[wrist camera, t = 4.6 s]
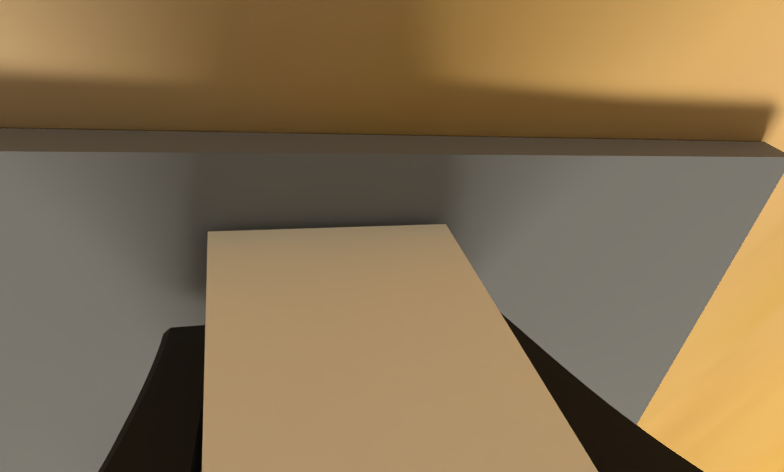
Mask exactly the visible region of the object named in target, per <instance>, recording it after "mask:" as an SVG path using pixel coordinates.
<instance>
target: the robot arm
mask: <svg viewBox="0 0 784 472" xmlns="http://www.w3.org/2000/svg"><path fill="white" fill-rule="evenodd" d="M500 313H501V312H500ZM501 314H502V313H501ZM502 316H503V318H504V319H505V321H506V323H507V324H508V326H509V327H510V329H511V331H512V332H513V334H514V336H515V337H516V339H517V340H518V342H519V344H520V345H521V347H522V349H523V350H524V352H525V353H526V355H527V357H528V358H529V360H530V362H531V363H532V365H533V366H534V368H535V370H536V371H537V373H538V375H539V376H540V378H541V379H542V381H543V383H544V384H545V386H546V388H547V389H548V391H549V392H550V394H551V396H552V397H553V399H554V401H555V402H556V404H557V405H558V407H559V409H560V410H561V412H562V414H563V415H564V417H565V418H566V420H567V422H568V423H569V425H570V427H571V428H572V430H573V431H574V433H575V435H576V436H577V438H578V440H579V441H580V443H581V444H582V446H583V448H584V449H585V451H586V453H587V454H588V456H589V457H590V459H591V461H592V462H593V464H594V466H595V467H596V469H597V470H598V472H703V471H702V470H700V469H699V468H697V467H696V466H694V465H693V464H691V463H690V462H688V461H687V460H685V459H684V458H682V457H681V456H679V455H678V454H676V453H675V452H673V451H672V450H670V449H669V448H667V447H666V446H665V445H663V444H662V443H660V442H659V441H658V440H656V439H655V438H653V437H652V436H651V435H649V434H648V433H646V432H645V431H644V430H642V429H641V428H640V427H638V426H637V425H636V424H635V423H633V422H632V421H631V420H629V419H628V418H627V417H625V416H624V415H623V414H621V413H620V412H619V411H617V410H616V409H615V408H613V407H612V406H611V405H610V404H608V403H607V402H606V401H605V400H603V399H602V398H601V397H600V396H598V395H597V394H596V393H595V392H593V391H592V390H591V389H590V388H588V387H587V386H586V385H585V384H583V383H582V382H581V381H580V380H579V379H577V378H576V377H575V376H574V375H573V374H571V373H570V372H569V371H568V370H567V369H565V368H564V367H563V366H562V365H561V364H560V363H558V362H557V361H556V360H555V359H554V358H553V357H551V356H550V355H549V354H548V353H547V352H546V351H544V350H543V349H542V348H541V347H540V346H539V345H538V344H536V343H535V342H534V341H533V340H532V339H531V338H529V337H528V336H527V335H526V334H525V333H524V332H523V331H521V330H520V329H519V328H518V327H517V326H516V325H515V324H513V323H512V322H511V321H510V320H509V319H508V318H506V317H505V316H504V315H503V314H502ZM204 360H205V325H198V326H184V327H171V328H169V329H168V330H167V331H166V332H165V333H164V334H163V336H162V340H161V343H160V346H159V349H158V351H157V354H156V357H155V359H154V362H153V364H152V367H151V369H150V371H149V374H148V376H147V378H146V380H145V383H144V385H143V387H142V389H141V391H140V393H139V395H138V398H137V400H136V402H135V404H134V406H133V408H132V410H131V412H130V414H129V415H128V417H127V419H126V421H125V423H124V425H123V427H122V429H121V431H120V433H119V435H118V437H117V439H116V440H115V442H114V444H113V446H112V448H111V450H110V452H109V454H108V455H107V457H106V459H105V461H104V462H103V464H102V466H101V467H100V469H99V471H98V472H202V440H203V400H204Z"/></svg>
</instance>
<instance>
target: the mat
mask: <svg viewBox="0 0 784 472" xmlns="http://www.w3.org/2000/svg"><path fill="white" fill-rule="evenodd" d="M783 173H784V152H782V151H780V150H778V149H776V148H775V147H773V146H771V145H769V144H767V143H765V142H753V141H697V140H640V139H584V138H529V137H472V136H416V135H361V134H304V133H248V132H193V131H136V130H80V129H24V128H0V472H98V471H99V469H100V467H101V466H102V464H103V462H104V461H105V459H106V457H107V455H108V454H109V452H110V450H111V448H112V446H113V444H114V442H115V440H116V439H117V437H118V435H119V433H120V431H121V429H122V427H123V425H124V423H125V421H126V419H127V417H128V415H129V414H130V412H131V410H132V408H133V406H134V404H135V402H136V400H137V398H138V395H139V393H140V391H141V389H142V387H143V385H144V383H145V380H146V378H147V376H148V374H149V371H150V369H151V367H152V364H153V362H154V359H155V357H156V354H157V351H158V349H159V346H160V343H161V340H162V336H163V334H164V333H165V332H166V331H167V330H168V329H169V328H171V327H184V326H198V325H205V320H206V279H207V239H208V231H240V230H272V229H303V228H335V227H367V226H399V225H430V224H446V225H447V227H448V228H449V230H450V232H451V233H452V235H453V236H454V238H455V240H456V241H457V243H458V245H459V246H460V248H461V249H462V251H463V253H464V254H465V256H466V258H467V259H468V261H469V262H470V264H471V266H472V267H473V269H474V271H475V272H476V274H477V275H478V277H479V279H480V280H481V282H482V284H483V285H484V287H485V288H486V290H487V292H488V293H489V295H490V297H491V298H492V300H493V301H494V303H495V305H496V306H497V308H498V310H499V311H500V312H501V313H502V314H503V315H504V316H505V317H506V318H508V319H509V320H510V321H511V322H512V323H513V324H515V325H516V326H517V327H518V328H519V329H520V330H521V331H523V332H524V333H525V334H526V335H527V336H528V337H529V338H531V339H532V340H533V341H534V342H535V343H536V344H538V345H539V346H540V347H541V348H542V349H543V350H544V351H546V352H547V353H548V354H549V355H550V356H551V357H553V358H554V359H555V360H556V361H557V362H558V363H560V364H561V365H562V366H563V367H564V368H565V369H567V370H568V371H569V372H570V373H571V374H573V375H574V376H575V377H576V378H577V379H579V380H580V381H581V382H582V383H583V384H585V385H586V386H587V387H588V388H590V389H591V390H592V391H593V392H595V393H596V394H597V395H598V396H600V397H601V398H602V399H603V400H605V401H606V402H607V403H608V404H610V405H611V406H612V407H613V408H615V409H616V410H617V411H619V412H620V413H621V414H623V415H624V416H625V417H627V418H628V419H629V420H631V421H632V422H633V423H635V424H636V425H637V423H638V421H639V419H640V418H641V416H642V414H643V413H644V411H645V409H646V407H647V406H648V404H649V402H650V401H651V399H652V397H653V395H654V394H655V392H656V390H657V389H658V387H659V385H660V384H661V382H662V380H663V378H664V377H665V375H666V373H667V372H668V370H669V368H670V366H671V365H672V363H673V361H674V360H675V358H676V356H677V354H678V353H679V351H680V349H681V348H682V346H683V344H684V343H685V341H686V339H687V337H688V336H689V334H690V332H691V331H692V329H693V327H694V325H695V324H696V322H697V320H698V319H699V317H700V315H701V313H702V312H703V310H704V308H705V307H706V305H707V303H708V301H709V300H710V298H711V296H712V295H713V293H714V291H715V290H716V288H717V286H718V284H719V283H720V281H721V279H722V278H723V276H724V274H725V272H726V271H727V269H728V267H729V266H730V264H731V262H732V260H733V259H734V257H735V255H736V254H737V252H738V250H739V249H740V247H741V245H742V243H743V242H744V240H745V238H746V237H747V235H748V233H749V231H750V230H751V228H752V226H753V225H754V223H755V221H756V219H757V218H758V216H759V214H760V213H761V211H762V209H763V208H764V206H765V204H766V202H767V201H768V199H769V197H770V196H771V194H772V192H773V190H774V189H775V187H776V185H777V184H778V182H779V180H780V178H781V177H782V175H783Z"/></svg>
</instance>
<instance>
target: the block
mask: <svg viewBox="0 0 784 472" xmlns="http://www.w3.org/2000/svg"><path fill="white" fill-rule="evenodd" d="M202 472H598V470H597V469H596V467H595V466H594V464H593V462H592V461H591V459H590V457H589V456H588V454H587V453H586V451H585V449H584V448H583V446H582V444H581V443H580V441H579V440H578V438H577V436H576V435H575V433H574V431H573V430H572V428H571V427H570V425H569V423H568V422H567V420H566V418H565V417H564V415H563V414H562V412H561V410H560V409H559V407H558V405H557V404H556V402H555V401H554V399H553V397H552V396H551V394H550V392H549V391H548V389H547V388H546V386H545V384H544V383H543V381H542V379H541V378H540V376H539V375H538V373H537V371H536V370H535V368H534V366H533V365H532V363H531V362H530V360H529V358H528V357H527V355H526V353H525V352H524V350H523V349H522V347H521V345H520V344H519V342H518V340H517V339H516V337H515V336H514V334H513V332H512V331H511V329H510V327H509V326H508V324H507V323H506V321H505V319H504V318H503V316H502V314H501V313H500V311H499V310H498V308H497V306H496V305H495V303H494V301H493V300H492V298H491V297H490V295H489V293H488V292H487V290H486V288H485V287H484V285H483V284H482V282H481V280H480V279H479V277H478V275H477V274H476V272H475V271H474V269H473V267H472V266H471V264H470V262H469V261H468V259H467V258H466V256H465V254H464V253H463V251H462V249H461V248H460V246H459V245H458V243H457V241H456V240H455V238H454V236H453V235H452V233H451V232H450V230H449V228H448V227H447V225H446V224H430V225H399V226H367V227H335V228H303V229H272V230H240V231H208V239H207V279H206V320H205V360H204V400H203V440H202Z"/></svg>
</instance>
